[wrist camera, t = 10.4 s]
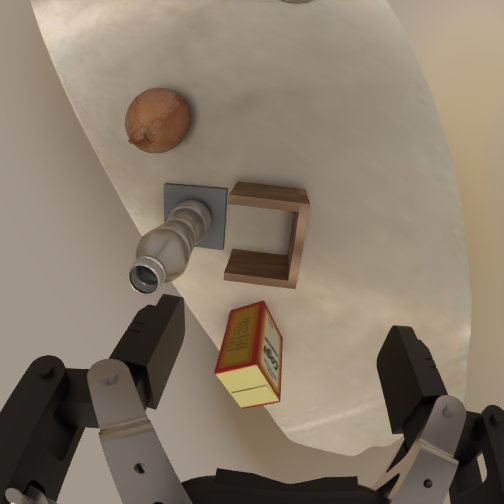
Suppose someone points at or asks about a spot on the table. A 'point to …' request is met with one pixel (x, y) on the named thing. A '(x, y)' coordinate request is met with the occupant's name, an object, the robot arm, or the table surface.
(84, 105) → the table surface
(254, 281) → the walnut rack
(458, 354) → the table surface
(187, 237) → the plastic bottle
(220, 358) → the baking soda box
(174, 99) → the onion
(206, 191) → the rubber mat
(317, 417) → the table surface
